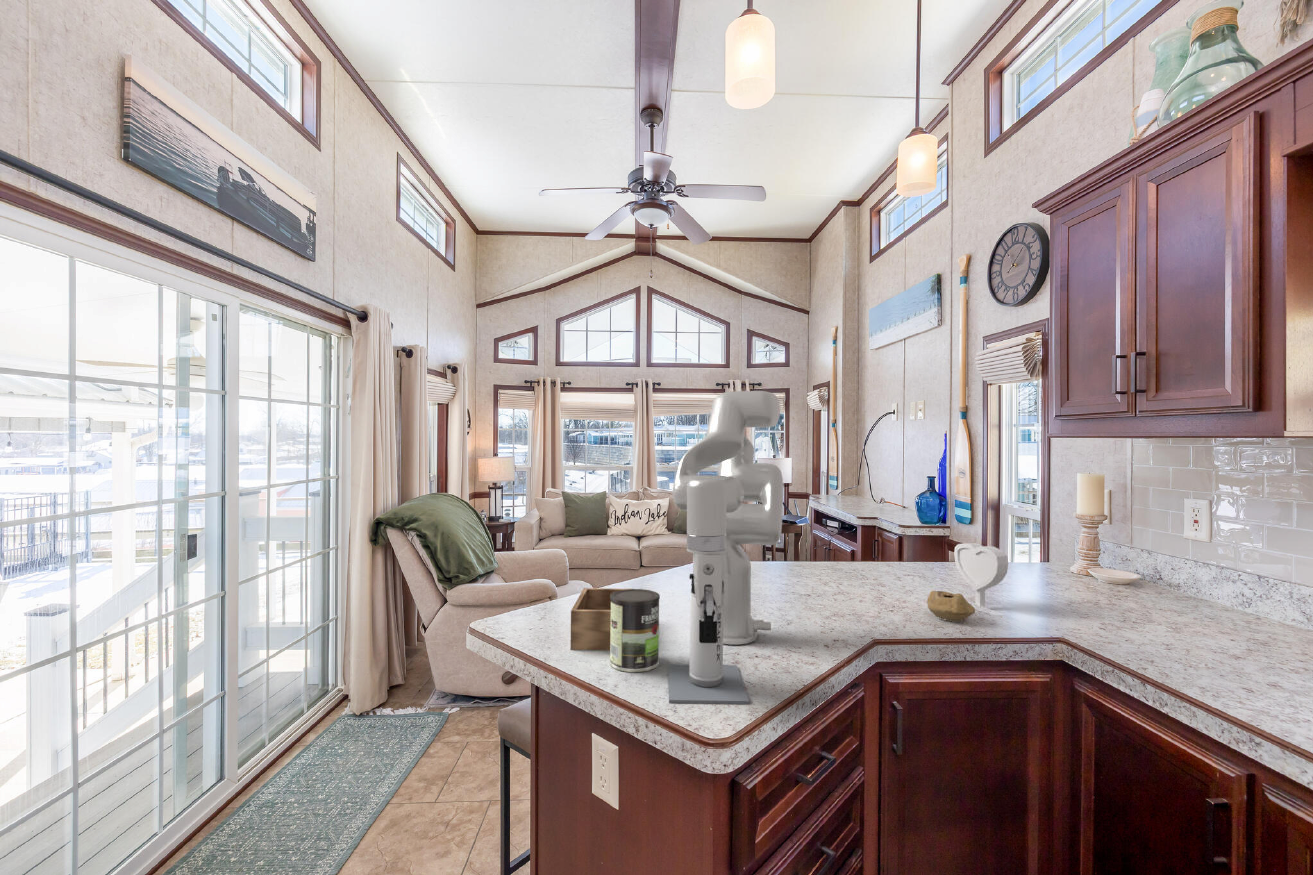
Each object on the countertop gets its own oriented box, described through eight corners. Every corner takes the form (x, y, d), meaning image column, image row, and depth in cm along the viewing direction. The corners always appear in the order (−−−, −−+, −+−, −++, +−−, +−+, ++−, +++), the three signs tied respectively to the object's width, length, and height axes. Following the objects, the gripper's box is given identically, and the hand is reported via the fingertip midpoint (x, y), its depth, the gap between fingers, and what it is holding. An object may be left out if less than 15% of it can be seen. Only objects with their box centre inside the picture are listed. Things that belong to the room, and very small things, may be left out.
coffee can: (668, 660, 116) (668, 592, 117) (641, 676, 108) (641, 604, 108) (628, 650, 122) (628, 586, 122) (599, 665, 113) (600, 596, 113)
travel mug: (685, 674, 108) (687, 571, 108) (718, 673, 108) (720, 571, 109) (689, 687, 101) (691, 578, 102) (725, 687, 102) (727, 578, 102)
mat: (736, 667, 112) (736, 665, 112) (749, 703, 96) (749, 700, 96) (668, 666, 113) (668, 664, 113) (669, 702, 97) (669, 699, 97)
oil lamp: (944, 608, 156) (944, 580, 156) (986, 625, 142) (986, 594, 142) (910, 610, 154) (910, 582, 154) (949, 628, 139) (949, 596, 139)
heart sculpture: (952, 601, 163) (951, 540, 164) (966, 600, 165) (966, 540, 165) (995, 617, 148) (995, 550, 149) (1010, 616, 150) (1010, 549, 150)
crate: (634, 622, 142) (634, 588, 142) (629, 650, 122) (629, 611, 122) (583, 621, 142) (583, 588, 142) (570, 649, 122) (570, 610, 122)
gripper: (731, 552, 96) (731, 650, 96) (721, 536, 114) (720, 619, 113) (688, 551, 97) (688, 650, 96) (684, 535, 114) (684, 619, 114)
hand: (705, 633), depth 105 cm, fingers open, 9 cm apart
